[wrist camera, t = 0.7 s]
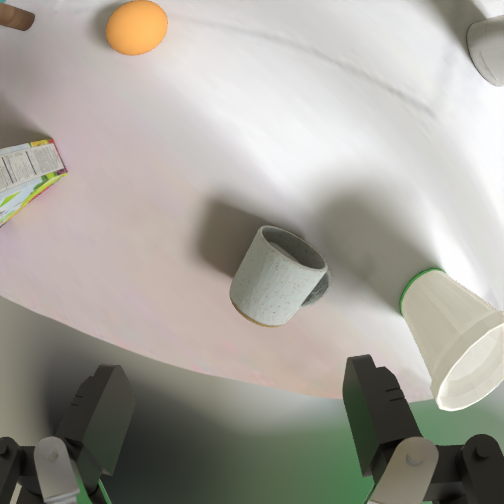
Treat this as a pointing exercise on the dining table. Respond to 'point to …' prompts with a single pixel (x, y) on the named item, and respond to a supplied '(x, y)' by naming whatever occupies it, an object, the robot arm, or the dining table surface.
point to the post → (15, 17)
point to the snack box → (27, 174)
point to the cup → (455, 338)
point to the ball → (136, 27)
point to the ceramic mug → (278, 277)
